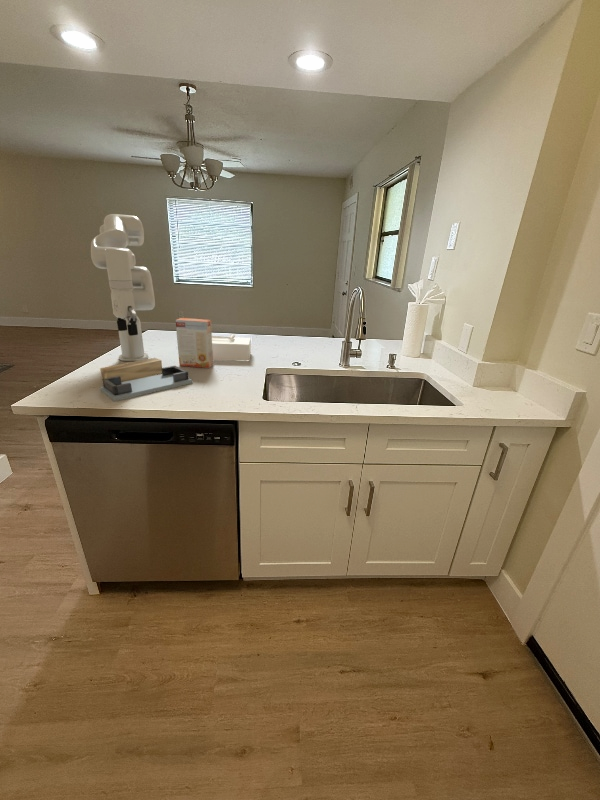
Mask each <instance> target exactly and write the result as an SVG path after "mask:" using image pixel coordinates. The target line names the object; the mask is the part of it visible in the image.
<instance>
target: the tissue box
mask: <svg viewBox="0 0 600 800" xmlns="http://www.w3.org/2000/svg"><path fill="white" fill-rule="evenodd" d="M251 338H252V337H237V336H236V335H235V334H230V336H224V335H223V336H222V335H221V336H220V335H212V351H213V361H222V360H249V361H250V359H249V358H251V354H250V353H252V352H251V348H252V346H251V345H252V344H251V343H252V342H251Z"/></svg>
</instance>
